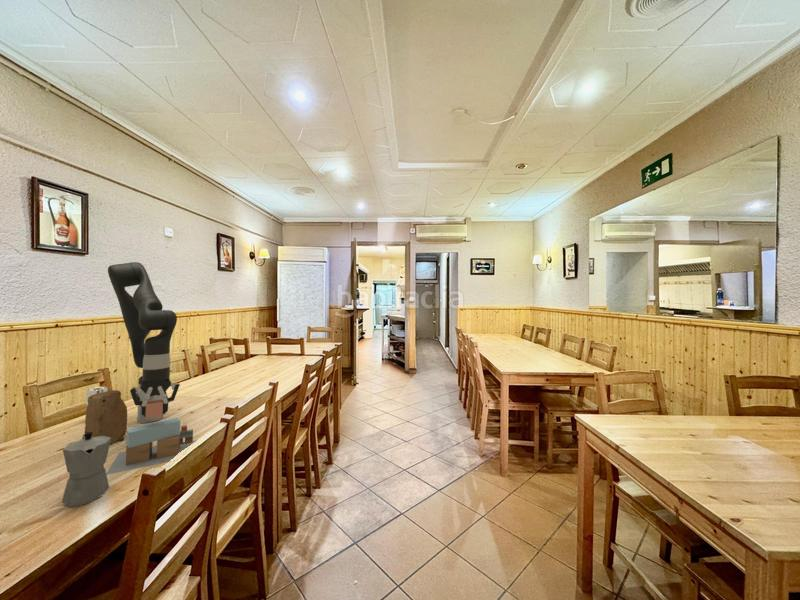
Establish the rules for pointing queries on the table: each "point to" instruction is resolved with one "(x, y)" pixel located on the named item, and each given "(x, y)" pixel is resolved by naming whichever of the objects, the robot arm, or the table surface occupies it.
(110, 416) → the block
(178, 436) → the base cube
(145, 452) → the base cube
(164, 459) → the grey flat sheet
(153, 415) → the terracotta cube
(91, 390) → the beer glass
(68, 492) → the coffeepot
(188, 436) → the model
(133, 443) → the lintel
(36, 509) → the table surface
